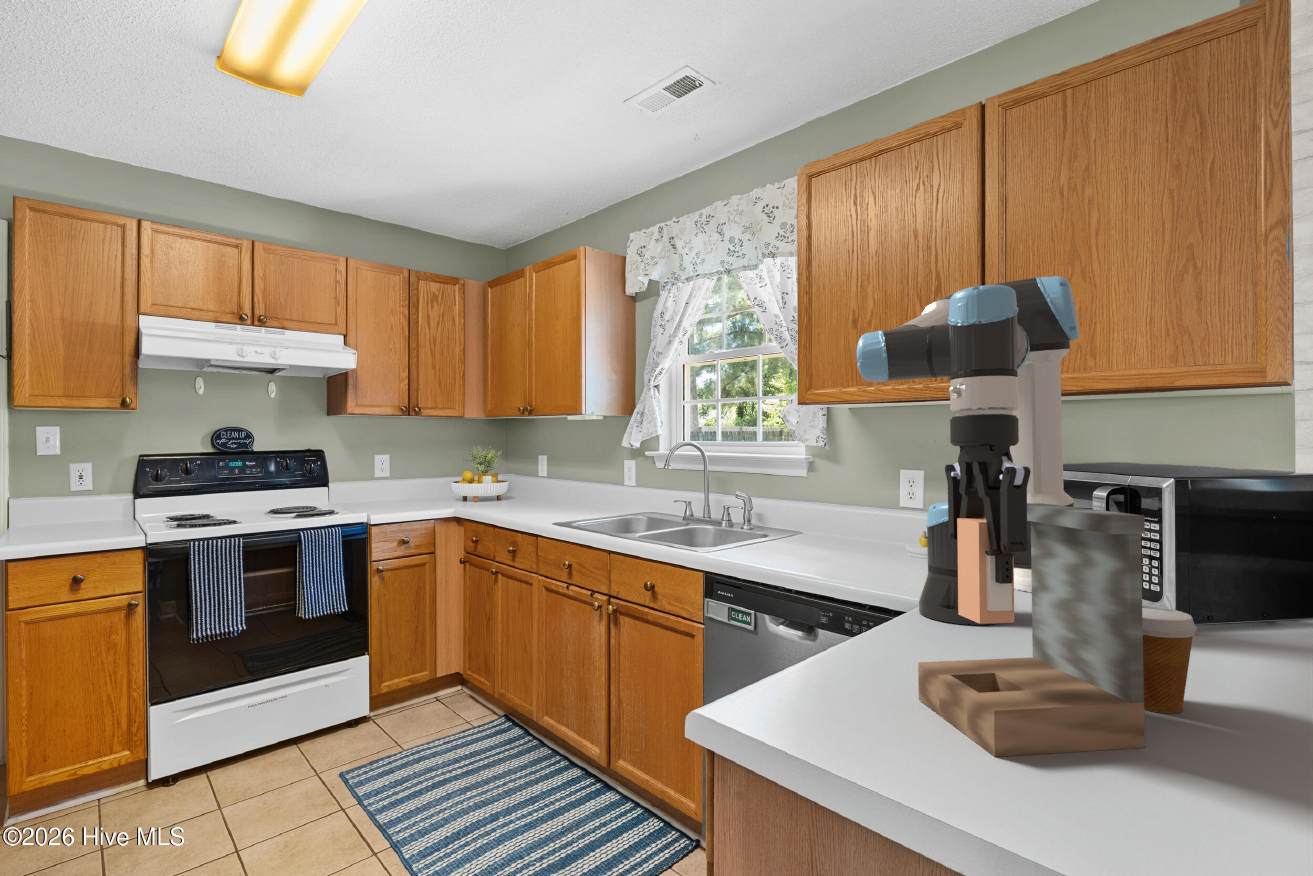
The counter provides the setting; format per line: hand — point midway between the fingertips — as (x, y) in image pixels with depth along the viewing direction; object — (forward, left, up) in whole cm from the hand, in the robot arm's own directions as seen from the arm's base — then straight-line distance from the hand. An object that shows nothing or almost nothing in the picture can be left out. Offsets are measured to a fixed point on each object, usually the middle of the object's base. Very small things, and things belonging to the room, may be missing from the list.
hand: (985, 604), depth 79 cm
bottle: (-68, +56, -15) cm, 89 cm away
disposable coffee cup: (-3, +25, -15) cm, 29 cm away
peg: (0, 0, -2) cm, 2 cm away
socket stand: (0, +5, -14) cm, 15 cm away
